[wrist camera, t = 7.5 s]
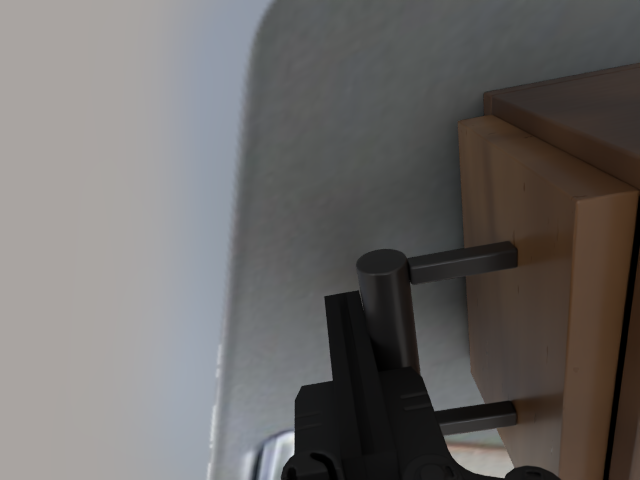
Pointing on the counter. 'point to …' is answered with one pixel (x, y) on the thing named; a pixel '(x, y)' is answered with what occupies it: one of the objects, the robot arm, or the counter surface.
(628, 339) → the cabinet
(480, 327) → the drawer
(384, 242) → the counter surface
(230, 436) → the counter surface
